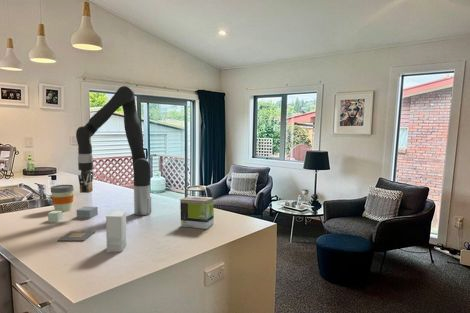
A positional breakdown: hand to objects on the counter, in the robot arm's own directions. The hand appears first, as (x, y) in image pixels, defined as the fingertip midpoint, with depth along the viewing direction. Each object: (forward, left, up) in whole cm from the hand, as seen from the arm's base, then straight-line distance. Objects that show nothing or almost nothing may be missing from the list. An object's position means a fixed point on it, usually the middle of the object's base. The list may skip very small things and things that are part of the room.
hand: (86, 190), depth 181 cm
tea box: (-65, +17, -15) cm, 69 cm away
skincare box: (-34, +49, -15) cm, 61 cm away
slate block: (0, 0, -15) cm, 15 cm away
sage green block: (+14, +8, -15) cm, 22 cm away
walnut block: (0, 0, 0) cm, 0 cm away
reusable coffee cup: (+21, -14, -15) cm, 29 cm away
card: (-10, +34, -15) cm, 38 cm away
